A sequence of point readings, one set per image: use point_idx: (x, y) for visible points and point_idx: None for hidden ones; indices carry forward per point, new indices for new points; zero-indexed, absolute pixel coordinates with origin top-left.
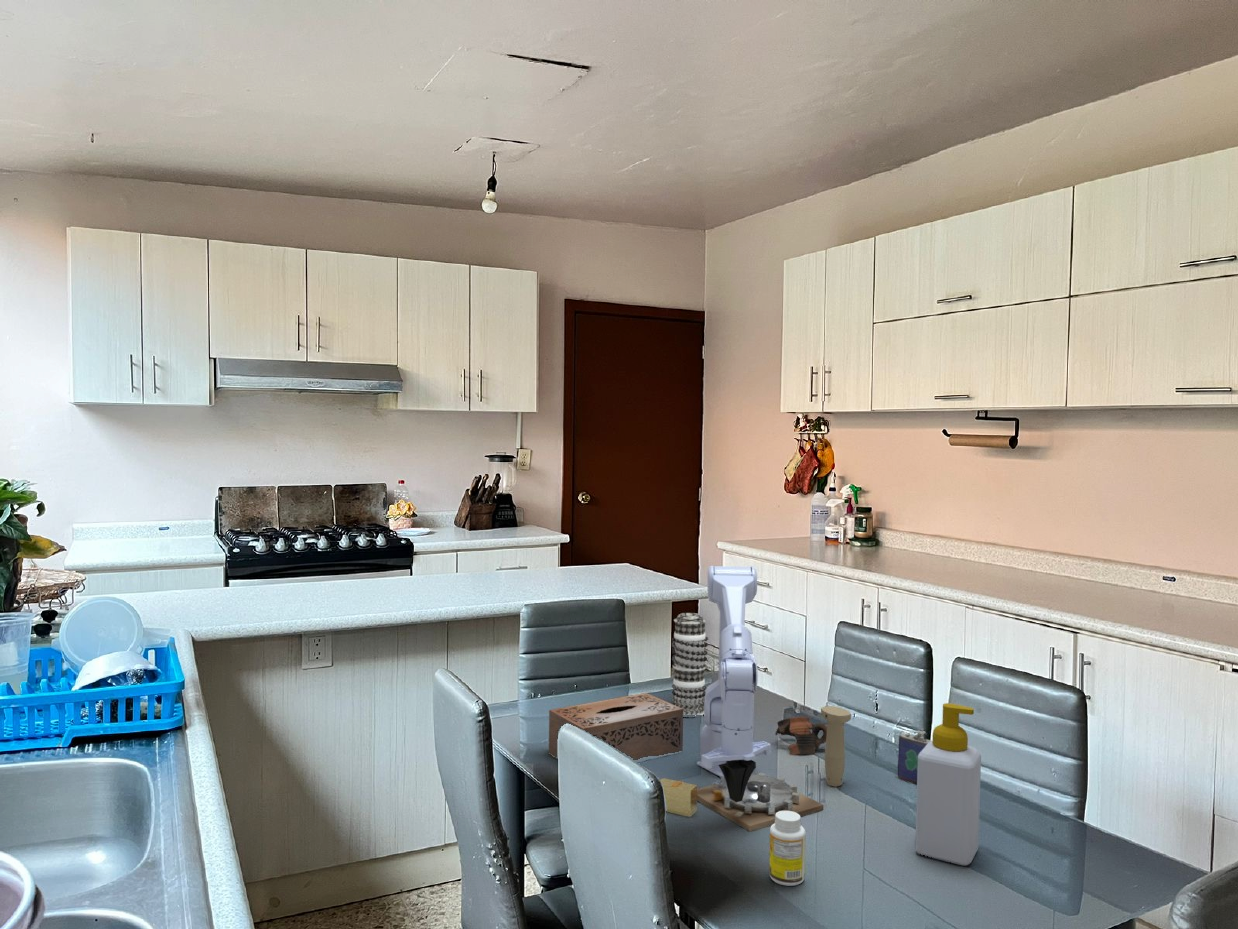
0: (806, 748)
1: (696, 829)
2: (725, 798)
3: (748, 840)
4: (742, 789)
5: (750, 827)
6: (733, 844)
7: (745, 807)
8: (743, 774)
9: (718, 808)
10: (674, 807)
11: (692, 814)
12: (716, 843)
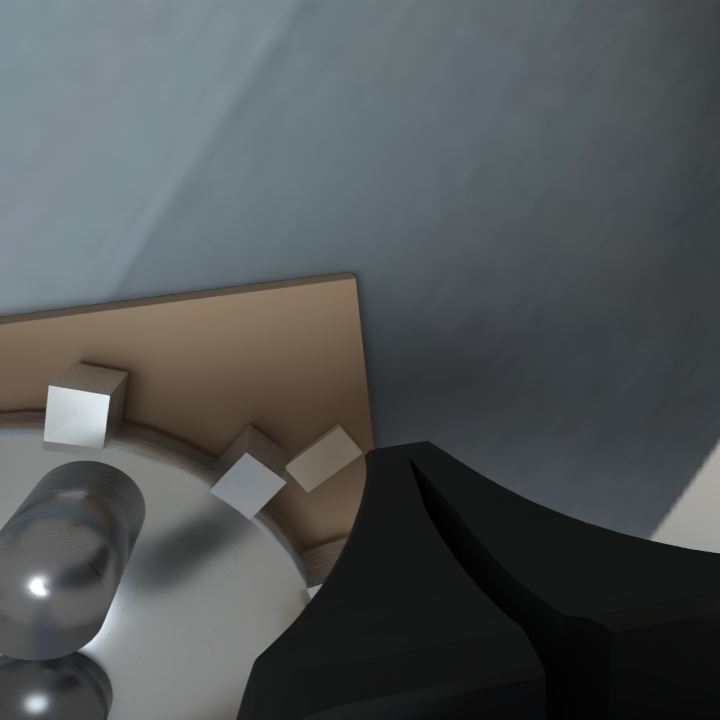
0: None
1: (619, 422)
2: None
3: (435, 160)
4: (413, 485)
5: (349, 277)
6: (559, 152)
7: (282, 470)
8: (511, 573)
9: None
10: None
11: None
12: (640, 213)
